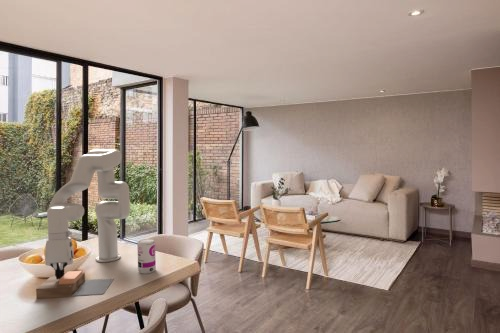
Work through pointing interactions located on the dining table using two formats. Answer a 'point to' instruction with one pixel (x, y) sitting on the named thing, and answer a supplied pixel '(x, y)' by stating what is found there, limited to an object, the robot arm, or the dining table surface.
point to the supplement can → (146, 256)
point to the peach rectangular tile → (70, 277)
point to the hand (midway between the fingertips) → (60, 277)
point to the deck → (58, 288)
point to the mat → (93, 287)
